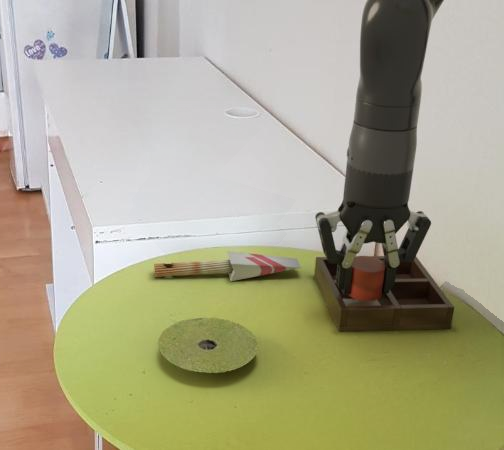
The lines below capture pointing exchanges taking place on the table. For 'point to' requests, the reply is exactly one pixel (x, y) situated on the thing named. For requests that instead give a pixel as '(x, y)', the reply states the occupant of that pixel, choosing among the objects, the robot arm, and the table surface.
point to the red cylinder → (367, 278)
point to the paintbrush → (230, 266)
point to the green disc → (208, 345)
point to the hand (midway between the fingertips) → (364, 290)
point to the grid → (388, 301)
